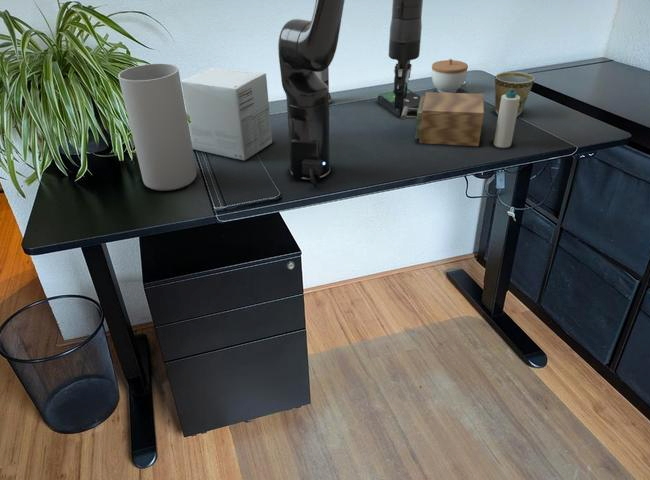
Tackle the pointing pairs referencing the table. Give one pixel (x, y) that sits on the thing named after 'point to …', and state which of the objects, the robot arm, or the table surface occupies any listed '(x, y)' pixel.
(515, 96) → the lotion bottle
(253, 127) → the supplement box
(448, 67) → the trinket box
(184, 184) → the cylinder vase
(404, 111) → the drawer
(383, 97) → the disk drive
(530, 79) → the ceramic cup
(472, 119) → the cabinet
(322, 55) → the robot arm
